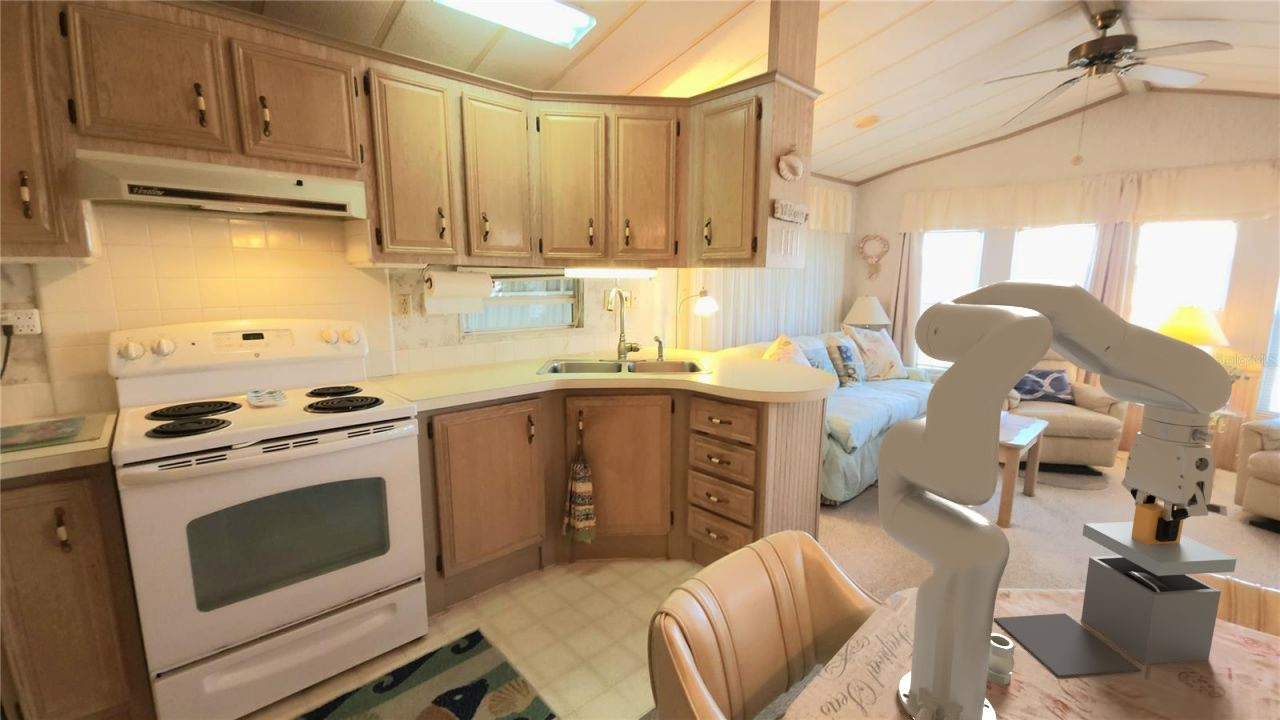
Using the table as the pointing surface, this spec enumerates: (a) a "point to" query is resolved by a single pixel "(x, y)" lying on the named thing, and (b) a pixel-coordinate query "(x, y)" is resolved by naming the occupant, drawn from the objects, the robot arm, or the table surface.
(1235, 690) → the table surface
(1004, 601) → the table surface
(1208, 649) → the tub
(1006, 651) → the valve
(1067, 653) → the mat
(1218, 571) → the lid
